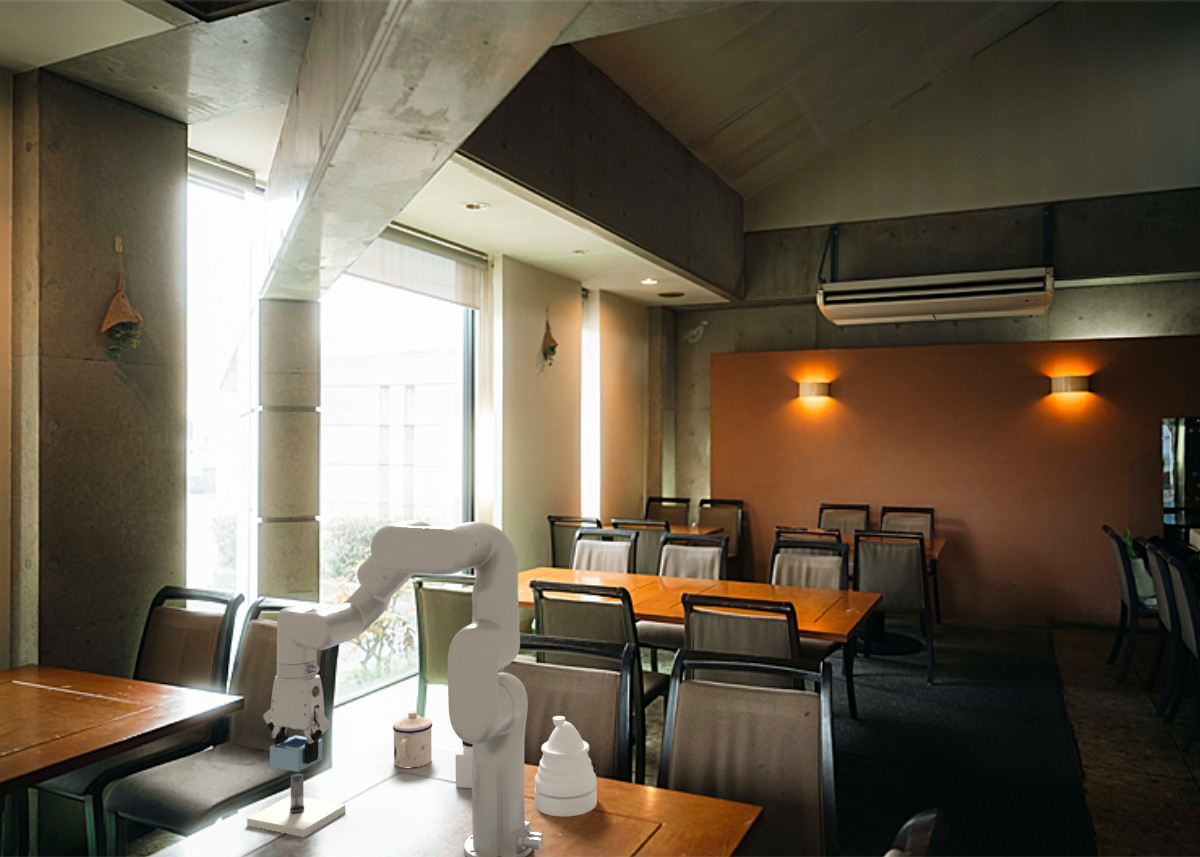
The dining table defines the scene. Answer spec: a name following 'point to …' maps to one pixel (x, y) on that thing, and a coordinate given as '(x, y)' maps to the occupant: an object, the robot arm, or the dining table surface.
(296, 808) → the steel post
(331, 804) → the base plate
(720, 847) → the dining table surface
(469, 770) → the medicine bottle
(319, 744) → the collar
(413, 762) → the teacup with lid
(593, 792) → the honey pot
